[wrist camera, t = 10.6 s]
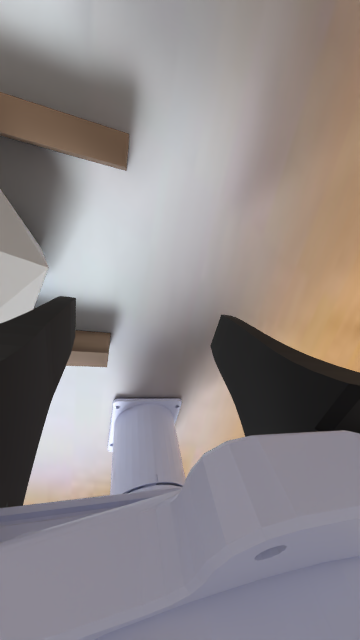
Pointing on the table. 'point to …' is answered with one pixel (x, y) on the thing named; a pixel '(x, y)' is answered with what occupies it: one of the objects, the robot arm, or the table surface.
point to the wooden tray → (76, 140)
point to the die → (18, 264)
